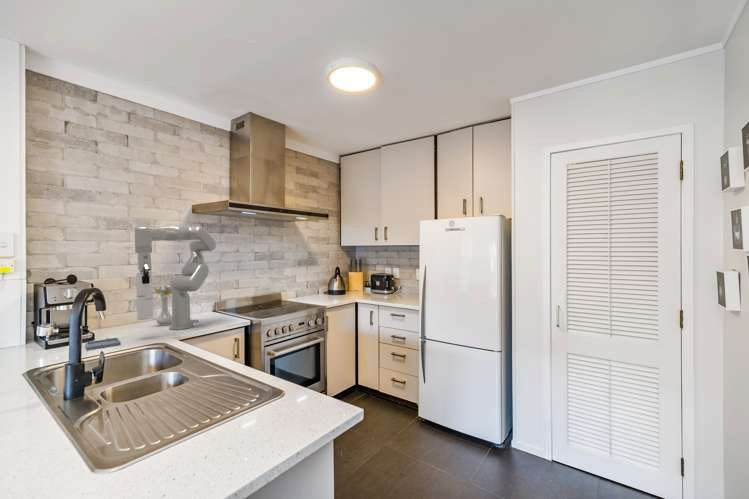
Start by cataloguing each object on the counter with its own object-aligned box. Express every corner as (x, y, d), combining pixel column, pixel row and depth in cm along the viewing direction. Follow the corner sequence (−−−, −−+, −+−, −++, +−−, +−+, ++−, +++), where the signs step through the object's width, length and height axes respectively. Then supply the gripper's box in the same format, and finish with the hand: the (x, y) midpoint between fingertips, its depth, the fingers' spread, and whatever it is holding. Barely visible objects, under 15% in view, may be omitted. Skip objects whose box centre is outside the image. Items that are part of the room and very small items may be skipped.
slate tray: (117, 340, 179) (117, 337, 179) (120, 345, 170) (120, 342, 170) (85, 345, 171) (85, 342, 171) (86, 350, 161) (86, 347, 161)
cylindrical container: (139, 318, 184) (137, 272, 184) (154, 316, 187) (153, 271, 187) (136, 320, 178) (134, 273, 178) (152, 319, 181) (150, 272, 181)
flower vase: (144, 326, 213) (143, 286, 213) (176, 321, 227) (176, 283, 227) (150, 329, 205) (149, 287, 205) (183, 323, 218) (182, 285, 218)
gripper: (155, 249, 178) (156, 283, 179) (148, 249, 191) (149, 281, 191) (137, 250, 173) (138, 284, 173) (132, 250, 186) (133, 282, 186)
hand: (144, 282), depth 182 cm, fingers closed on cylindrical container, 7 cm apart
